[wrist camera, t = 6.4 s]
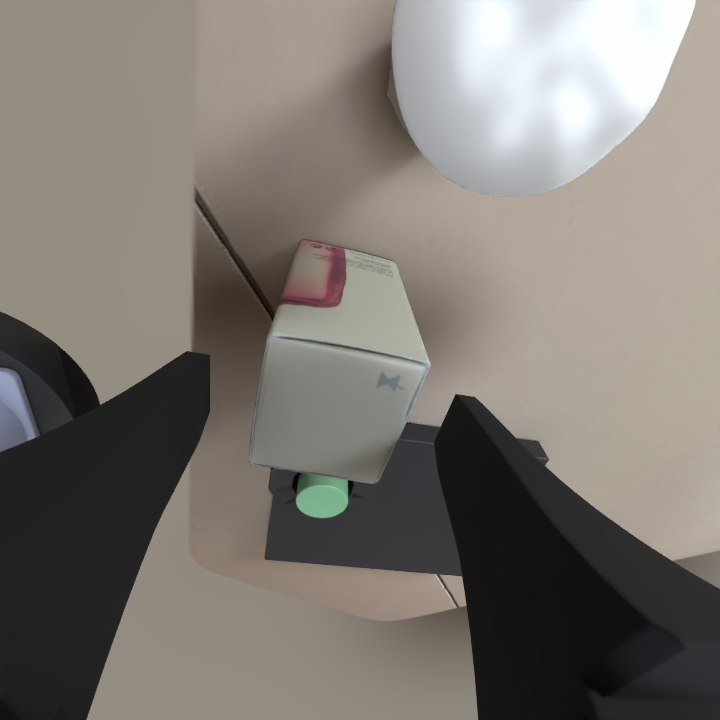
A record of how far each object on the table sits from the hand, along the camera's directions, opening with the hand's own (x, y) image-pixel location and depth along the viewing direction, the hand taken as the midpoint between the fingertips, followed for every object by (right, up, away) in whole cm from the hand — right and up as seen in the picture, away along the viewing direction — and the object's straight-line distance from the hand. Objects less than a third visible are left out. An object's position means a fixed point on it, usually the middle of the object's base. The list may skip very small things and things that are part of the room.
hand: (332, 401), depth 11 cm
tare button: (-1, -5, +9) cm, 10 cm away
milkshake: (+4, +11, +2) cm, 12 cm away
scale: (+3, -8, +14) cm, 16 cm away
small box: (0, +4, +6) cm, 7 cm away
